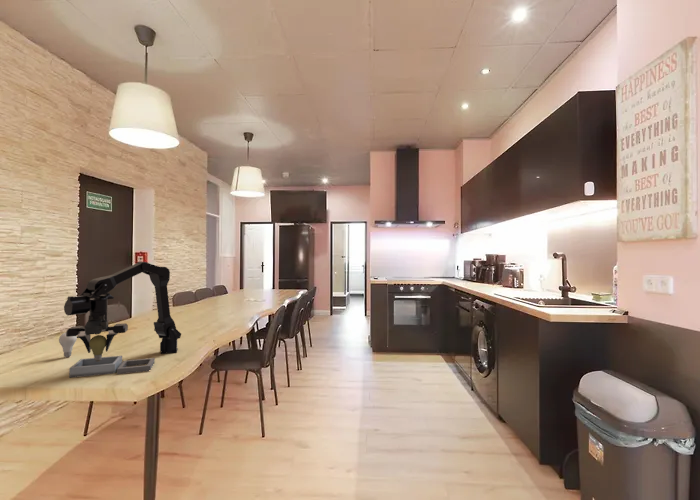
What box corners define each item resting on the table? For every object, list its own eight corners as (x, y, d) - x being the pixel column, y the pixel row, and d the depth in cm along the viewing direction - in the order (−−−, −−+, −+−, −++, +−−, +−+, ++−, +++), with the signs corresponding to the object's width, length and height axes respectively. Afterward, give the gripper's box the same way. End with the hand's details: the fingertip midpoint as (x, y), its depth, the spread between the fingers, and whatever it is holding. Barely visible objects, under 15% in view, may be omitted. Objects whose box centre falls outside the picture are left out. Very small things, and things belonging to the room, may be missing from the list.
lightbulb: (77, 357, 152) (78, 332, 153) (59, 360, 148) (60, 334, 148) (74, 354, 157) (75, 329, 157) (57, 357, 152) (57, 332, 152)
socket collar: (154, 362, 146) (154, 357, 146) (150, 370, 135) (150, 365, 136) (123, 365, 142) (123, 360, 142) (116, 374, 131) (117, 368, 131)
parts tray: (122, 364, 144) (122, 355, 144) (114, 373, 132) (114, 364, 132) (80, 367, 138) (80, 359, 138) (69, 377, 127) (69, 368, 127)
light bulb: (97, 363, 132) (97, 337, 132) (85, 362, 133) (85, 336, 133) (110, 359, 138) (110, 334, 138) (98, 358, 139) (98, 333, 139)
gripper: (60, 316, 125) (60, 360, 125) (122, 313, 132) (121, 355, 132) (72, 311, 135) (71, 352, 135) (128, 309, 142) (127, 347, 142)
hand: (98, 352), depth 136 cm, fingers closed on light bulb, 5 cm apart
